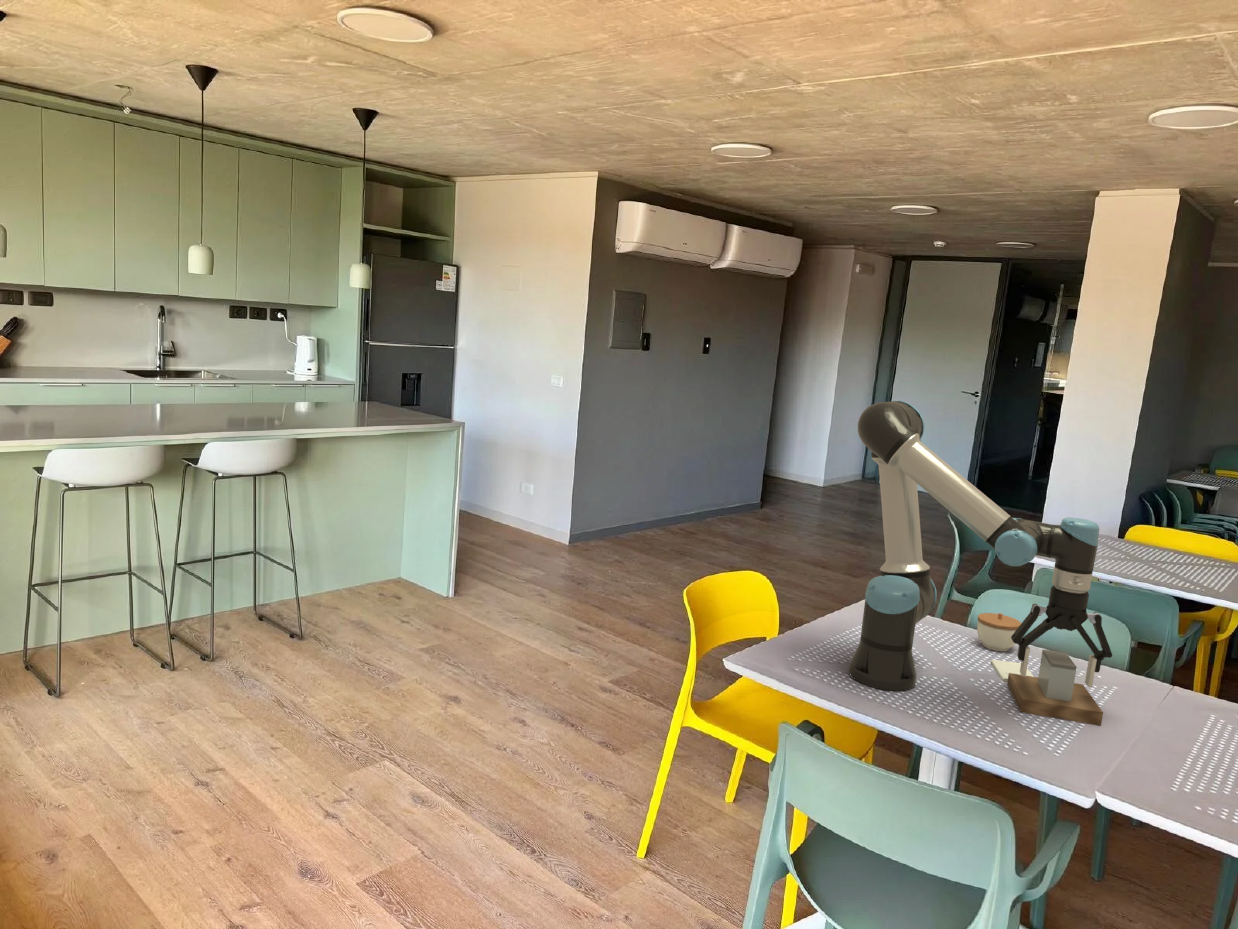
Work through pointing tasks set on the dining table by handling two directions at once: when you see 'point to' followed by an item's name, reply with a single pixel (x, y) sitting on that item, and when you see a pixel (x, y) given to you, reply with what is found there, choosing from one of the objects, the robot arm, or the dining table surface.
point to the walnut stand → (1053, 701)
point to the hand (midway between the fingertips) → (1055, 679)
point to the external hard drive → (1007, 669)
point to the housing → (1056, 675)
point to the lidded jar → (996, 630)
